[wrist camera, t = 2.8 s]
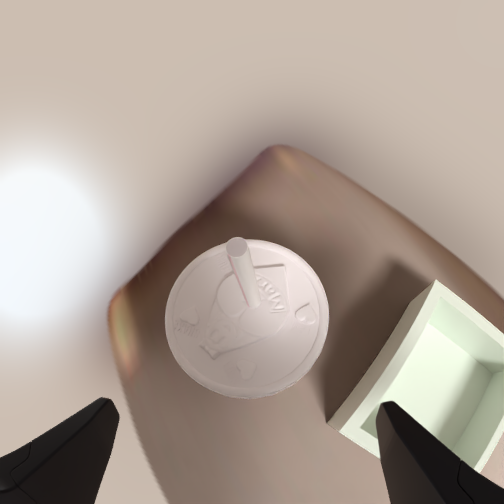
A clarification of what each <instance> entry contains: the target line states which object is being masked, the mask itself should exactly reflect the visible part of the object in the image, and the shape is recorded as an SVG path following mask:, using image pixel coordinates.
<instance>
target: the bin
mask: <svg viewBox="0 0 504 504" xmlns="http://www.w3.org/2000/svg"><path fill="white" fill-rule="evenodd" d="M386 401H394V402H396V403H397V404H398V405H399V406H400V407H401V408H403V409H404V410H405V411H406V412H407V413H408V414H409V415H411V416H412V417H413V418H414V419H415V420H416V421H417V422H419V423H420V424H421V425H422V426H423V427H424V428H426V429H427V430H428V431H429V432H430V433H431V434H433V435H434V436H435V437H436V438H437V439H438V440H439V441H441V442H442V443H443V444H444V445H445V446H447V447H448V448H449V449H450V450H451V451H452V452H454V453H455V454H456V455H457V456H458V457H459V458H460V459H461V460H463V461H464V462H466V463H467V464H468V465H469V466H470V467H472V468H473V469H474V470H476V471H477V472H478V473H480V472H481V470H482V469H483V467H484V465H485V464H486V462H487V460H488V459H489V457H490V455H491V454H492V452H493V450H494V448H495V447H496V445H497V443H498V441H499V439H500V437H501V435H502V433H503V431H504V334H503V333H502V332H500V331H499V330H498V329H497V328H496V327H495V326H493V325H492V324H491V323H490V322H489V321H488V320H486V319H485V318H484V317H483V316H482V315H480V314H479V313H478V312H477V311H476V310H474V309H473V308H472V307H471V306H469V305H468V304H467V303H466V302H464V301H463V300H462V299H461V298H459V297H458V296H457V295H456V294H454V293H453V292H452V291H450V290H449V289H448V288H446V287H445V286H444V285H443V284H441V283H440V282H439V281H437V280H435V281H434V282H433V283H432V284H430V285H429V286H428V287H427V288H426V289H425V290H424V291H422V292H421V293H420V294H419V295H418V296H417V297H416V298H414V299H413V300H412V301H411V302H410V303H409V305H408V307H407V308H406V310H405V312H404V314H403V315H402V317H401V319H400V320H399V322H398V324H397V326H396V327H395V329H394V330H393V332H392V334H391V335H390V337H389V338H388V340H387V342H386V343H385V345H384V346H383V348H382V349H381V351H380V352H379V354H378V355H377V357H376V358H375V360H374V361H373V363H372V364H371V366H370V367H369V369H368V370H367V372H366V373H365V374H364V376H363V377H362V379H361V380H360V381H359V383H358V384H357V385H356V387H355V388H354V389H353V391H352V392H351V393H350V395H349V396H348V397H347V399H346V400H345V401H344V402H343V404H342V405H341V406H340V408H339V409H338V410H337V411H336V412H335V414H334V415H333V416H332V417H331V419H330V420H329V421H328V422H327V424H328V425H330V426H331V427H333V428H334V429H336V430H337V431H338V432H340V433H341V434H343V435H344V436H346V437H347V438H349V439H350V440H352V441H353V442H355V443H356V444H358V445H359V446H361V447H362V448H364V449H366V450H367V451H369V452H370V453H372V454H373V455H375V456H377V457H378V458H380V452H379V444H378V437H377V430H376V416H377V413H378V410H379V407H380V404H381V403H382V402H386Z"/></svg>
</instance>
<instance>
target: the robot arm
mask: <svg viewBox="0 0 504 504" xmlns="http://www.w3.org/2000/svg"><path fill="white" fill-rule="evenodd" d="M118 423H119V413H118V411H117V409H116V407H115V405H114V403H113V401H112V400H111V399H108V398H103V397H101V398H99V399H97V400H95V401H94V402H93V403H91V404H89V405H88V406H86V407H85V408H83V409H82V410H80V411H79V412H77V413H76V414H74V415H73V416H71V417H69V418H68V419H66V420H64V421H63V422H61V423H60V424H58V425H57V426H55V427H53V428H52V429H50V430H49V431H47V432H45V433H44V434H42V435H40V436H39V437H37V438H36V439H34V440H32V442H29V443H27V444H26V445H24V446H22V447H21V448H19V449H17V450H15V451H13V452H11V453H9V454H7V455H5V456H3V457H1V458H0V504H94V503H95V500H96V496H97V493H98V490H99V487H100V484H101V481H102V478H103V475H104V472H105V470H106V467H107V464H108V461H109V458H110V455H111V451H112V448H113V443H114V439H115V435H116V431H117V427H118ZM376 430H377V437H378V444H379V452H380V459H381V465H382V469H383V473H384V477H385V481H386V485H387V489H388V493H389V498H390V502H391V504H504V489H503V488H502V487H500V486H498V485H497V484H495V483H493V482H492V481H490V480H488V479H487V478H485V477H484V476H482V475H481V474H479V473H478V472H477V471H476V470H474V469H473V468H472V467H470V466H469V465H468V464H467V463H466V462H464V461H463V460H461V459H460V458H459V457H458V456H457V455H456V454H455V453H454V452H452V451H451V450H450V449H449V448H448V447H447V446H445V445H444V444H443V443H442V442H441V441H439V440H438V439H437V438H436V437H435V436H434V435H433V434H431V433H430V432H429V431H428V430H427V429H426V428H424V427H423V426H422V425H421V424H420V423H419V422H417V421H416V420H415V419H414V418H413V417H412V416H411V415H409V414H408V413H407V412H406V411H405V410H404V409H403V408H401V407H400V406H399V405H398V404H397V403H396V402H394V401H386V402H382V403H381V404H380V407H379V410H378V413H377V416H376Z"/></svg>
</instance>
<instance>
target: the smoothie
mask: <svg viewBox="0 0 504 504" xmlns="http://www.w3.org/2000/svg"><path fill="white" fill-rule="evenodd" d="M328 325H329V307H328V301H327V297H326V294H325V290H324V288H323V286H322V283H321V281H320V280H319V278H318V276H317V275H316V273H315V272H314V270H313V269H312V268H311V267H310V266H309V264H308V263H307V262H306V261H304V260H303V259H302V258H301V257H300V256H298V255H297V254H296V253H294V252H293V251H291V250H289V249H287V248H285V247H283V246H281V245H278V244H275V243H272V242H268V241H263V240H252V239H247V240H245V239H243V238H240V237H235V238H232V239H230V240H229V241H228V242H227V243H223V244H220V245H218V246H215V247H213V248H211V249H209V250H207V251H205V252H204V253H202V254H201V255H199V256H198V257H197V258H195V259H194V260H193V261H192V262H191V263H190V264H189V265H188V266H187V267H186V268H185V269H184V270H183V271H182V273H181V274H180V275H179V277H178V278H177V280H176V282H175V283H174V285H173V287H172V289H171V292H170V294H169V298H168V301H167V305H166V311H165V330H166V336H167V340H168V344H169V347H170V349H171V351H172V354H173V356H174V357H175V359H176V361H177V362H178V364H179V365H180V367H181V368H182V369H183V370H184V371H185V372H186V374H187V375H189V376H190V377H191V378H192V379H193V380H194V381H196V382H197V383H198V384H200V385H202V386H203V387H205V388H207V389H209V390H211V391H213V392H216V393H219V394H222V395H224V396H227V397H232V398H242V399H255V398H260V397H266V396H271V395H274V394H276V393H278V392H280V391H282V390H285V389H287V388H289V387H291V386H293V385H294V384H295V383H296V382H297V381H298V380H300V379H301V378H302V377H303V376H304V375H305V374H306V373H307V372H308V371H309V370H310V369H311V367H312V366H313V364H314V363H315V361H316V360H317V358H318V356H319V355H320V353H321V351H322V347H323V345H324V342H325V339H326V336H327V331H328Z"/></svg>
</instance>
